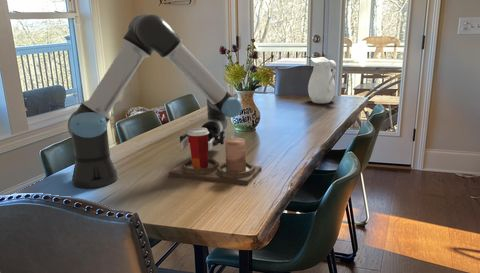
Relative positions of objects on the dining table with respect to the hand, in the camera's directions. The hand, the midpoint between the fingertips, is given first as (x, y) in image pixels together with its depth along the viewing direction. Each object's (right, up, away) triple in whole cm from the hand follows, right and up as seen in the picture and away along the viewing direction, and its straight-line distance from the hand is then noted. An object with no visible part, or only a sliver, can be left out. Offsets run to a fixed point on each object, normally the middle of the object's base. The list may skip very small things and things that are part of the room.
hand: (195, 146), depth 156 cm
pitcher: (+69, +24, +126) cm, 145 cm away
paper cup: (+1, -8, +7) cm, 10 cm away
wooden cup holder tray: (+7, -10, +5) cm, 13 cm away
